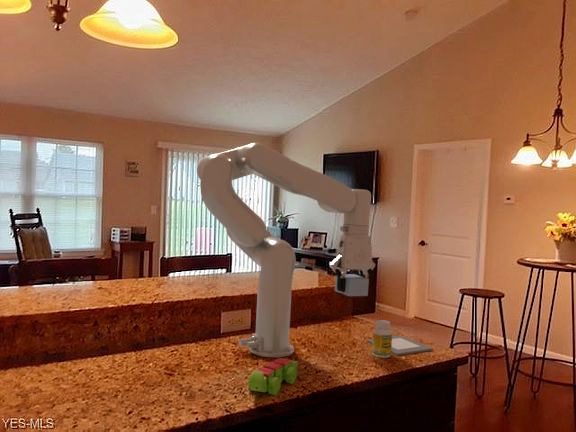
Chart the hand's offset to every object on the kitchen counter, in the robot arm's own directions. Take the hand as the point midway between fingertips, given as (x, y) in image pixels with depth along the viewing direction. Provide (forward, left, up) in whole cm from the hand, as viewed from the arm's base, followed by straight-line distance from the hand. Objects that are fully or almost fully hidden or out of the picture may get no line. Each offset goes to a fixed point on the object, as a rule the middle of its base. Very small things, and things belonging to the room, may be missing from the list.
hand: (351, 290), depth 143 cm
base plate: (+15, -5, -17) cm, 23 cm away
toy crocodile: (-34, -18, -17) cm, 42 cm away
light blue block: (0, 0, -1) cm, 1 cm away
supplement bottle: (+4, -10, -17) cm, 20 cm away
